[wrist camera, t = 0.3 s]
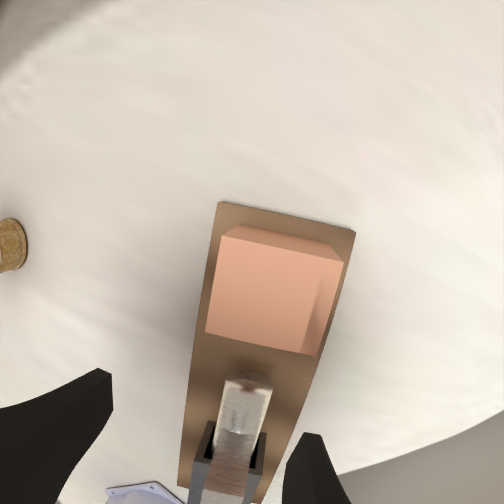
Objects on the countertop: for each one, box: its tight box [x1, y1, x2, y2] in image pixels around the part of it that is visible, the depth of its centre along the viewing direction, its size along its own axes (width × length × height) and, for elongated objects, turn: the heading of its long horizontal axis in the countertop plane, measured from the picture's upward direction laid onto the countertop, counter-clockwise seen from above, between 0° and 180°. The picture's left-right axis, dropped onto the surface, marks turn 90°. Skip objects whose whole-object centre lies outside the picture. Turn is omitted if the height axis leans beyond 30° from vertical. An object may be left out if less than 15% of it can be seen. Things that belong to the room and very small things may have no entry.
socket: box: [205, 224, 344, 356], centre depth 16 cm, size 4×5×5 cm
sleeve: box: [187, 420, 267, 504], centre depth 19 cm, size 10×4×4 cm, turn 169°
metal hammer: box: [200, 370, 273, 504], centre depth 16 cm, size 14×3×8 cm, turn 169°
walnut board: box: [177, 202, 356, 504], centre depth 21 cm, size 26×8×1 cm, turn 169°
